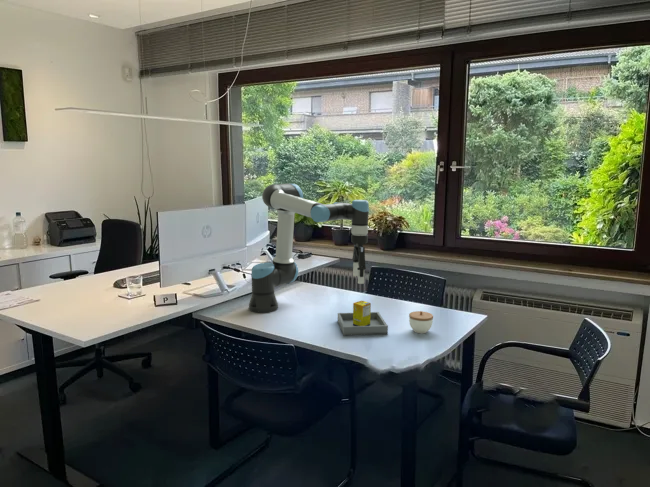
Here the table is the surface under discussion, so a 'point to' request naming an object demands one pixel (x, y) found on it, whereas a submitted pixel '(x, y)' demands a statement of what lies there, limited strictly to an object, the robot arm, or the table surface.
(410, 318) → the lidded jar
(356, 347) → the table surface
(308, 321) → the table surface
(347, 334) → the desk tray
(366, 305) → the supplement box
